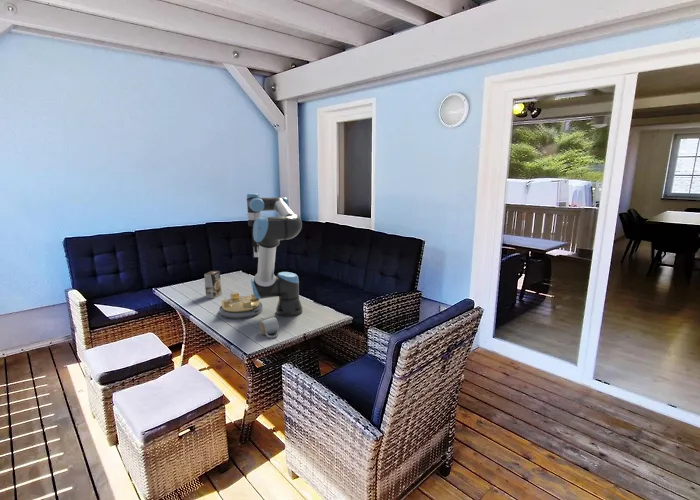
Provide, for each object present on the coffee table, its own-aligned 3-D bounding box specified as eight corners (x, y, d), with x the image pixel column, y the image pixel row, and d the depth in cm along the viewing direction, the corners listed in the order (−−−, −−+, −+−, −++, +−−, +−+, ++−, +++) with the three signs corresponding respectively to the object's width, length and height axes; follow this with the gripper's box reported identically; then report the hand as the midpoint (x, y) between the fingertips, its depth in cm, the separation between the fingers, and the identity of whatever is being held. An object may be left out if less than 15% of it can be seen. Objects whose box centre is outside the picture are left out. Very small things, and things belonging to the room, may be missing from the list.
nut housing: (264, 303, 228) (264, 298, 227) (260, 318, 205) (259, 313, 204) (224, 305, 225) (224, 300, 224) (215, 320, 202) (215, 315, 201)
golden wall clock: (231, 299, 226) (231, 290, 224) (264, 300, 223) (264, 292, 222) (215, 312, 205) (214, 302, 204) (251, 314, 203) (250, 304, 202)
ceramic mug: (258, 332, 187) (258, 318, 185) (274, 328, 192) (273, 314, 190) (266, 340, 179) (265, 326, 177) (282, 336, 183) (281, 322, 181)
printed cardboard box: (214, 298, 236) (212, 274, 233) (205, 298, 237) (203, 274, 234) (222, 294, 245) (220, 270, 241) (213, 293, 246) (211, 270, 243)
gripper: (249, 217, 228) (251, 254, 233) (246, 220, 216) (248, 259, 221) (261, 217, 229) (263, 254, 234) (259, 220, 216) (261, 259, 221)
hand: (256, 256), depth 227 cm, fingers closed
